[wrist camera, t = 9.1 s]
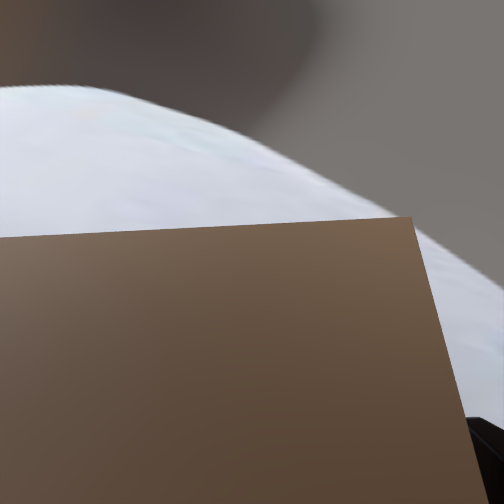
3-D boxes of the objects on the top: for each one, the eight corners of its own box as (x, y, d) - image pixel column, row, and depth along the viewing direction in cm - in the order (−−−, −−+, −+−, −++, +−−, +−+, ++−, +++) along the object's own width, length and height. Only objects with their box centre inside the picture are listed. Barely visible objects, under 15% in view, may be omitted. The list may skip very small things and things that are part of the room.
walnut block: (317, 575, 14) (635, 1044, 2) (179, 582, 14) (-359, 1085, 2) (304, 427, 16) (411, 216, 4) (184, 433, 16) (-54, 240, 4)
